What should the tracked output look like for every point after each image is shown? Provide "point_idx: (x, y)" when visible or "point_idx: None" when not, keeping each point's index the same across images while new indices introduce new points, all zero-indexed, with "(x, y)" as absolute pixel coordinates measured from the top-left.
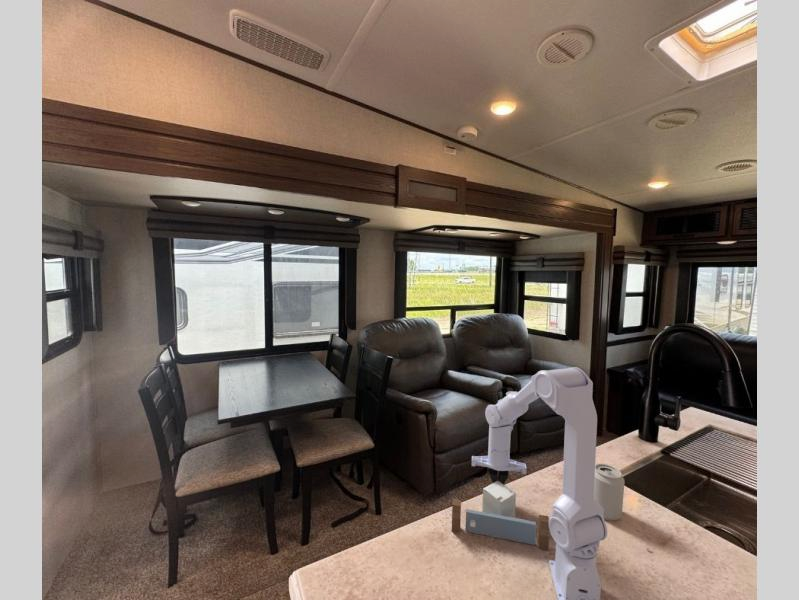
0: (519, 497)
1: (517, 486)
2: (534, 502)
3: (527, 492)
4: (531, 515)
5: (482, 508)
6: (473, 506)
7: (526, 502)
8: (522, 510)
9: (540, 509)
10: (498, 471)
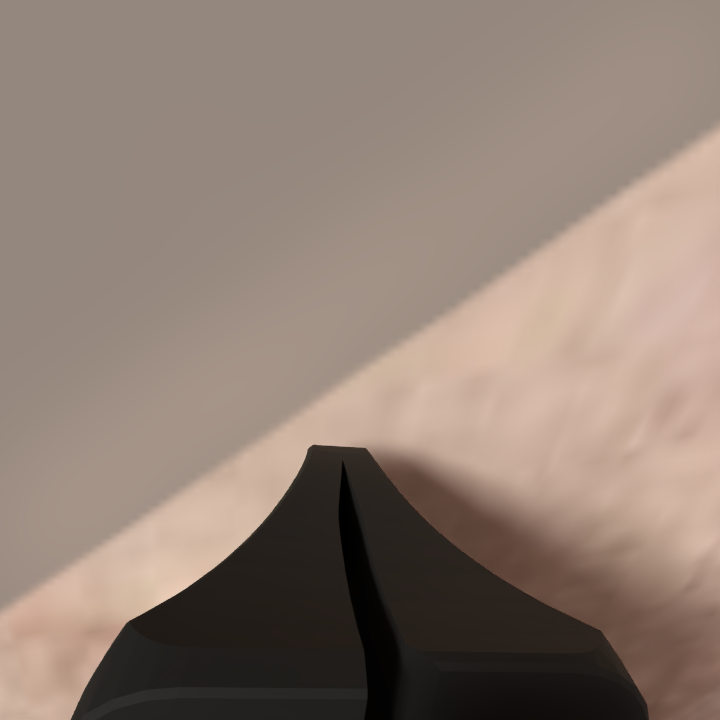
0: (578, 380)
1: (631, 189)
2: (698, 424)
3: (702, 285)
4: (594, 574)
5: None
6: (94, 574)
7: (620, 438)
8: (540, 538)
9: (706, 499)
10: (373, 688)
